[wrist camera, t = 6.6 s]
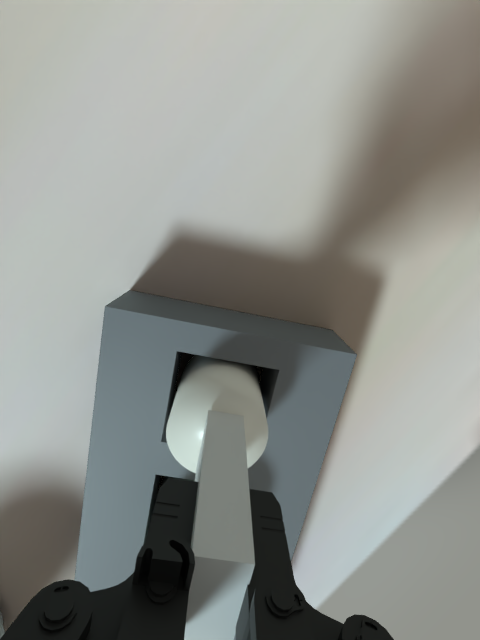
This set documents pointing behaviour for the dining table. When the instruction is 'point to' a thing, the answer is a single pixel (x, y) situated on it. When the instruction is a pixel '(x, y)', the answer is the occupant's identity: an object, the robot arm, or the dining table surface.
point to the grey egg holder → (156, 403)
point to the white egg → (215, 407)
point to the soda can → (1, 626)
